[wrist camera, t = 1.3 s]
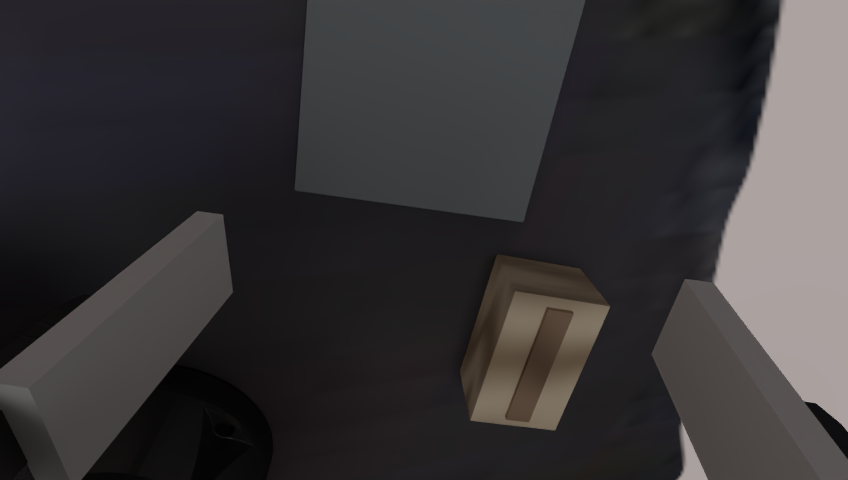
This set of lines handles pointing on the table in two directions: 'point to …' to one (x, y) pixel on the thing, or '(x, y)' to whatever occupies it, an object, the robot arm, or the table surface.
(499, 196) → the slate mat
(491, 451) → the table surface
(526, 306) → the tan striped block
